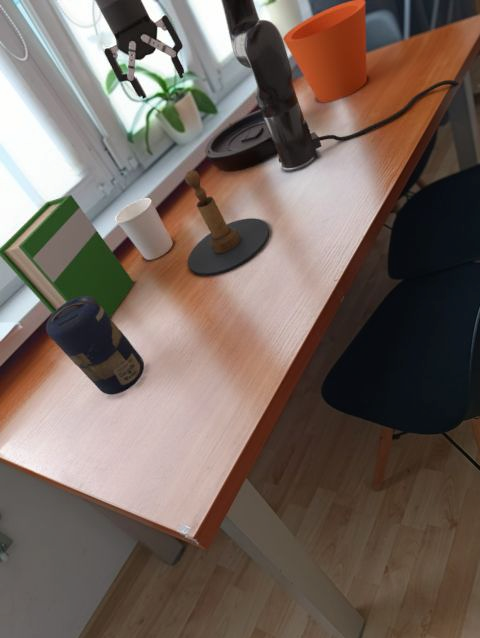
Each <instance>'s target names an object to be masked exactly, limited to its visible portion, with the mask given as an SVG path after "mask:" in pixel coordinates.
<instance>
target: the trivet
mask: <svg viewBox="0 0 480 638" xmlns="http://www.w3.org/2000/svg"><path fill="white" fill-rule="evenodd" d="M226 225H227V227H230V228H234V229H235V230H236V231H237V233H238V235H239V237H240V241H239V243H238V244H237V245H236V246H235V247H234V248H233V249H231V250H230V251H228V252H225V253H216V252H214V250H213V248H212V246H211V244H210V239H211V237H212V234H211V232H209V233H208V234H207V235H205V236H204V237H203V238H202V239H201V240H200V241H198V243H196V245H195V246H194V248H193V249H192V250H191V252H190V254H189V255H188V259H187V264H188V267H189V269H190V271H191V272H192V273H194V274H195V275H198V276H202V277H213V276H219V275H223V274H227V273H229V272H231V271H233V270H235V269H237V268H240V267H241V266H243V265H244V264H246V263H247V262H249V261H251V260H252V259H253V258H255V257H256V256H257V255H258V253H260V252H261V251H262V250H263V249H264V247H265V246H266V244H268V241H269V238H270V235H271V234H270V233H271V232H270V231H271V230H270V228H269V227H270V226H268V223H266V221H264V220H262V219H260V218H252V217H251V218H242V219H238V220H234V221H232V222H229V223H226Z"/></svg>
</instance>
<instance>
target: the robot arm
mask: <svg viewBox="0 0 480 638" xmlns="http://www.w3.org/2000/svg"><path fill="white" fill-rule="evenodd" d="M94 1H95V4H96V5H97V7H98V9H99V11H100V13H101V15H102V17H103V18H104V20H105V22H106V24H107V25H108V28H109V30H110V31H111V33H112V35H113V37H114V38H115V44H113V45H111V46H106V47H105V48H104V51H103V52H104V55H105V57H106V59H107V61H108V63H109V65H110V67H111V69H112V71H113V73H114V75H115V77H116V79H117V80H118V82H120V83H123V82H129V83H130V85H131V86H132V88H133V90H134V92H135V94H136V96H138V97H139V98H142V99H143V100H145V99H146V98H147V94H146V92H145V90H144V88H143V86H142V85H141V83H140V81H139V79H138V78H137V76H135V70H136V69H135V68H136V61H142V60H144V59H145V57H147V56H150V55H152V54H154V53H155V51H156V50H158V51H160V52H162V53H163V54H166V55H168V56H169V57H170V60H171V62H172V65H173V66H174V68H175V70H176V72H177V75H178V77H179V78H180V79H182V78H184V74H185V69H184V66H183V65H182V62H181V60H180V58H179V56H178V54H179V52H181V50H182V49H183V47H184V45H183V42H182V40H181V38H180V37H179V35H178V33H177V31H176V30H175V28H174V26H173V24H172V22H171V20H170V18H169V16H168V15H167V14H162V16H161V17H160V18H158V19H157V20H155V21H154V20H153V19H151V17H150V15H149V12H148V11H147V9H146V7H145V5H144V3H143V1H142V0H94ZM220 3H221V5H222V9H223V13H224V17H225V21H226V26H227V30H228V35H229V38H230V39H229V40H230V43H231V44H230V45H231V48H232V52H233V55H234V56H235V59H236V60H237V61H238V62H239V64H240V65H241V66H243V67H245V68H248V69H251V71H252V74H253V77H254V80H255V83H256V89H255V91H254V95H255V99H256V102H257V104H258V107H259V110H261V112H262V115H263V117H264V120H265V123H266V125H267V128H268V130H269V133H270V136H271V138H272V141H273V143H274V146H275V149H276V151H277V154H276V155H277V156H278V158H277V159H278V162H279V163H280V164H281V168H282V170H283V171H286V172H294V171H297V170H300V169H303V168H305V167H306V166H308V165H309V164H311V163H313V161H315V160H316V159H318V158H319V154H318V152H317V150H318V149H319V148H322V143H321V141H325V140H335V141H337V142H342V141H348V140H351V139H354V138H357V137H359V136H361V135H363V134H365V133H367V132H370V131H372V130H375V129H376V128H379V127H381V126H383V125H385V124H388V123H389V122H391V121H392V120H394V119H396V118H398V117H400V116H401V115H402V114H404V113H405V112H406V111H408V110H409V109H410V108H411V106H413V104H414V103H415V102H416V101H417V100H418V99H419V98H422V97H423V96H425V95H427V94H428V93H430V92H432V91H433V90H435V89H438V88H439V87H442V86H445V85H451V86H453V87H457V86H459V85H460V83H459V82H458V81H456V80H452V79H446V80H441V81H439V82H436V83H434V84H433V85H431V86H429V87H428V88H425V89H424V90H422V91H420V92H419V93H417V94H416V95H414V97H412V98H411V99H410V100H409V101H408V102H407V104H406V105H405V106H403V107H402V108H401V109H400V110H399V111H396V112H395V113H394V114H392V115H389V116H388V117H386V118H384V119H382V120H380V121H378V122H375V123H373V124H372V125H369V126H367V127H365V128H363V129H361V130H359V131H357V132H354V133H352V134H348V135H343V136H338V135H335V134H326V135H322V136H318V134H317V132H315V131H313V132H311V130H310V127H309V124H308V122H307V120H306V119H305V117H304V114H303V111H302V108H301V104H300V102H299V99H298V96H297V93H296V90H295V87H294V83H293V72H292V66H291V63H290V59H289V57H288V52H287V49H286V46H285V45H286V44H285V42H284V40H283V36H282V35H281V32H280V30H279V29H278V27H277V26H276V25H275V24H274V23H273V22H272V21H270V20H267V19H260V17H259V14H258V11H257V8H256V5H255V2H254V0H220ZM158 28H160V29H161V30H162V31H164V32H166V31H167V33H168V35H169V36H170V37H171V40H172V41H173V43H174V45H173V46H172V47H171V46H170V45H168V44H167V43H165V42H163V41H162V40H160V39H158ZM118 51H120V52H121V53H123V54H125V55H126V56H128V60H127V61H128V62H127V72H124V71H123V70H122V68H121V66H120V64H119V62H118V60H117V59H118V57H119V53H118Z"/></svg>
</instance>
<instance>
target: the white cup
mask: <svg viewBox="0 0 480 638" xmlns="http://www.w3.org/2000/svg"><path fill="white" fill-rule="evenodd" d="M153 203H154V202H153V201H152V199H151V198H149V197H144V198H140V199H136V200H135V201H133V202H130V203H129V204H128V205H126V206H124V207H123V208H122V209H121V210H120V211H119V212H118V213H117V214H116V216H115V218H114V219H115V222H116V223H117V224H118V226H119V227H120V228H121V229H122V231H123V232H124V234H125V235H126V236H127V238H128V239H129V241H131V243H132V244H133V245H134V247H135V248H136V249H137V250H138V252H139V253H140V255H141V256H142V257H143V258H144V259H145V260H147V261H152V260H156V259H158V258H160V257H162V256H164V255H166V254H167V253H168V252H169V251H170V250H171V248H172V247H173V244H174V242H173V239H172V238H171V236H170V234H169V232H168V230H167V228H166V225H165V224H164V221H163V220H162V218H161V216H160V215H159V213H158V211H157V209H156V207H155V205H154V204H153Z"/></svg>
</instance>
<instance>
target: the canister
mask: <svg viewBox="0 0 480 638" xmlns="http://www.w3.org/2000/svg"><path fill="white" fill-rule="evenodd" d="M45 330H46V334H47V335H48V337H49V338H50V339H51V340H52V341H53V342H54V343H55V344H56V345H57V346H58V347H59V349H61V351H62V352H64V354H65V355H66V356H67V357H68V358H69V359H70V361H71V362H73V363H74V365H75V366H77V367H78V368H79V370H81V372H82V373H83V374H84V375H85V376H86V377H87V378H88V379H89V381H90V382H92V383H93V384H94V386H95V387H96V388H97V389H99V391H101V392H102V393H104V394H105V395H109V396H111V395H112V396H113V395H114V396H115V395H118V394H122V393H124V392H126V391H127V390H129V389H130V388H132V387H133V386H134V385H136V383H137V382H138V381H139V380H140V378H141V377H142V376H143V373H144V369H145V361H144V359H143V358H142V356H141V355H140V353H138V351H137V350H136V349H135V347H134V346H133V345H132V343H131V342H130V341H129V340H128V338H127V337H126V335H125V334H124V333H123V331H122V330H121V329H120V328H119V327H118V326H117V325H116V324H115V322H114V321H113V320H112V319H111V318H110V317H109V316H108V315H107V314H106V312H105V311H104V310H103V308H102V307H101V306H100V305H99V303H98V302H97V301H96V300H95V299H94V298H93V297H90V296H80V297H76V298H74V299H72V300H70V301H68V302H66V303H65V304H63V305H62V306H60V307H59V308H58V309H57V310H56V311H55V312H54V313H53V314H52V313H51V315H50V316H49V318H48V320H47V322H46V325H45Z"/></svg>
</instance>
